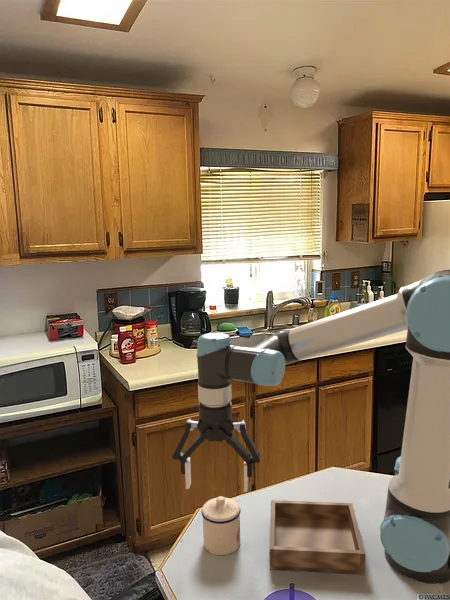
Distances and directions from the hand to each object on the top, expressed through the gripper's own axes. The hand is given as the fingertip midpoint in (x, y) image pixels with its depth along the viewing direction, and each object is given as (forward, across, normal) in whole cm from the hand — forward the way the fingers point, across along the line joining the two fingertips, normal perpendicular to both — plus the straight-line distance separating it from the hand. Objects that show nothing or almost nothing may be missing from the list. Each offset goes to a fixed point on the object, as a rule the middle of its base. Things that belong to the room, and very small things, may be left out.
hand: (217, 487), depth 110 cm
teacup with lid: (+14, 0, 0) cm, 14 cm away
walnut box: (+13, -22, 0) cm, 26 cm away
